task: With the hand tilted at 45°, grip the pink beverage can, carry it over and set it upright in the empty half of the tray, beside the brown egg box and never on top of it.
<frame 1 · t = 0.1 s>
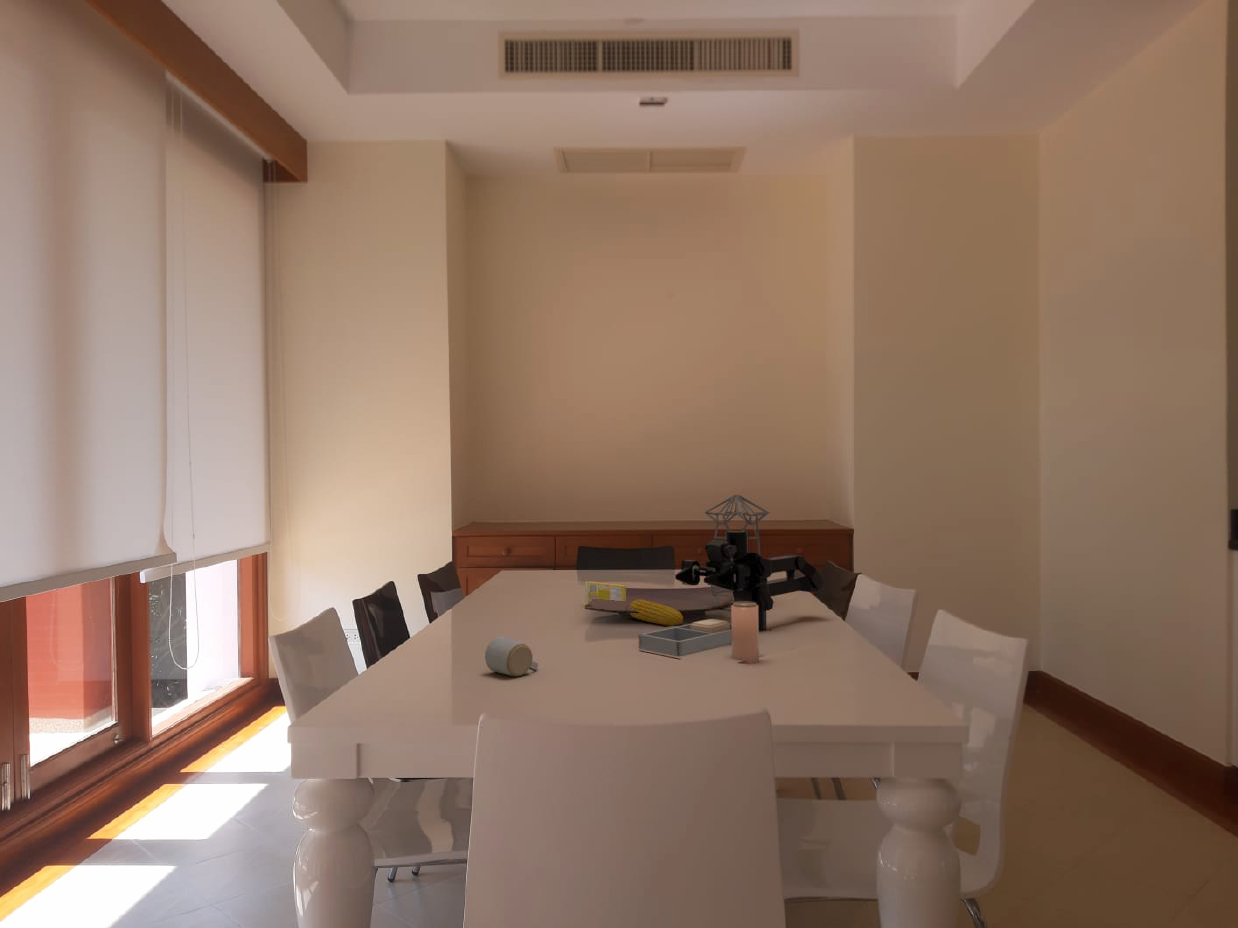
hand: (689, 578, 209), 17 cm above the table, tool horizontal, fingers open, 9 cm apart
food: (656, 624, 242), on the table
geometric lantern: (738, 608, 265), on the table
pink beverage can: (745, 660, 194), on the table
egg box: (710, 639, 213), point 1 cm above the table, touching tray
tray: (694, 646, 209), on the table
candy box: (605, 610, 265), on the table
ceramic mug: (514, 673, 185), on the table
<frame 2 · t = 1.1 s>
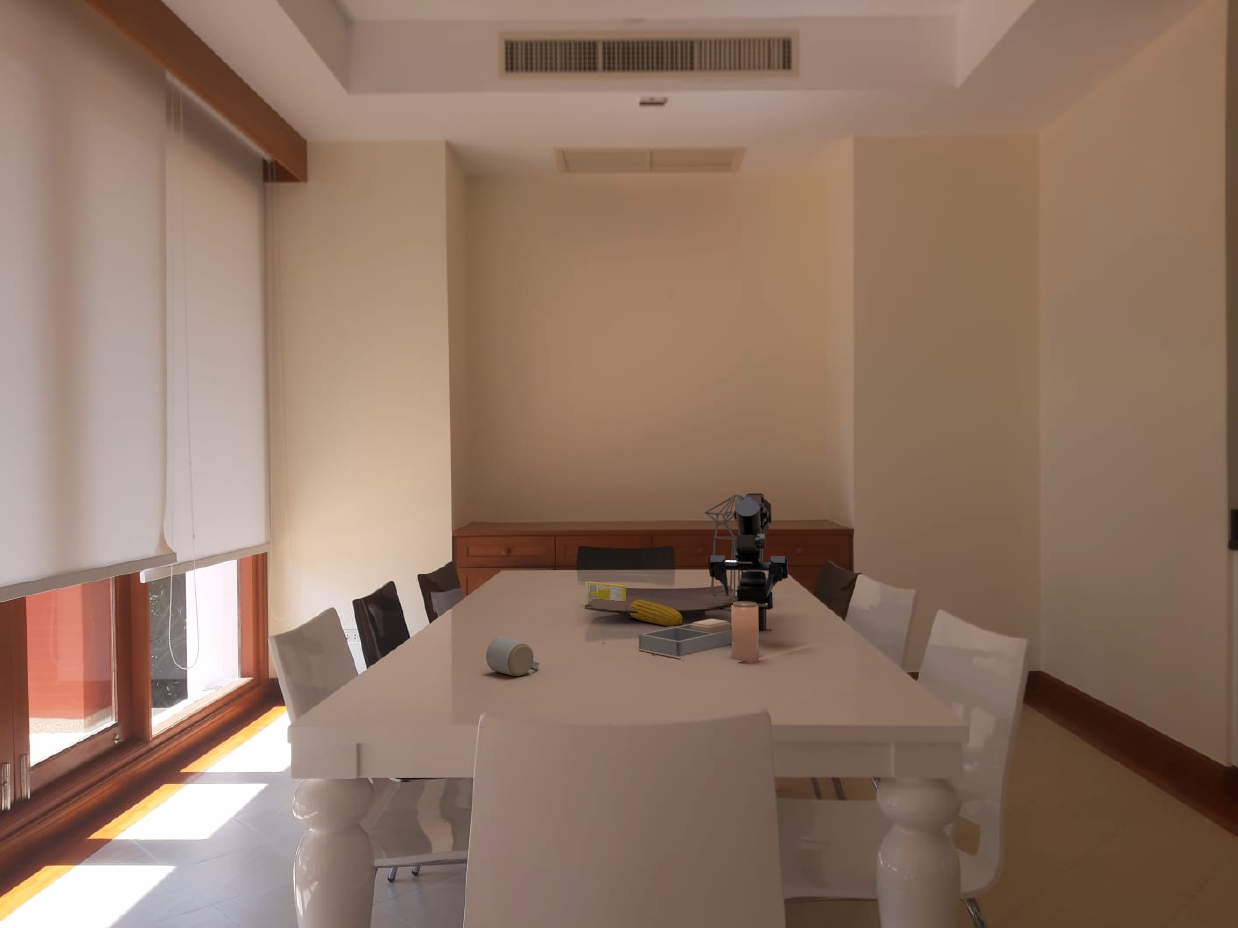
hand: (746, 595, 201), 14 cm above the table, tool tilted 45°, fingers open, 9 cm apart
nothing on the table moved.
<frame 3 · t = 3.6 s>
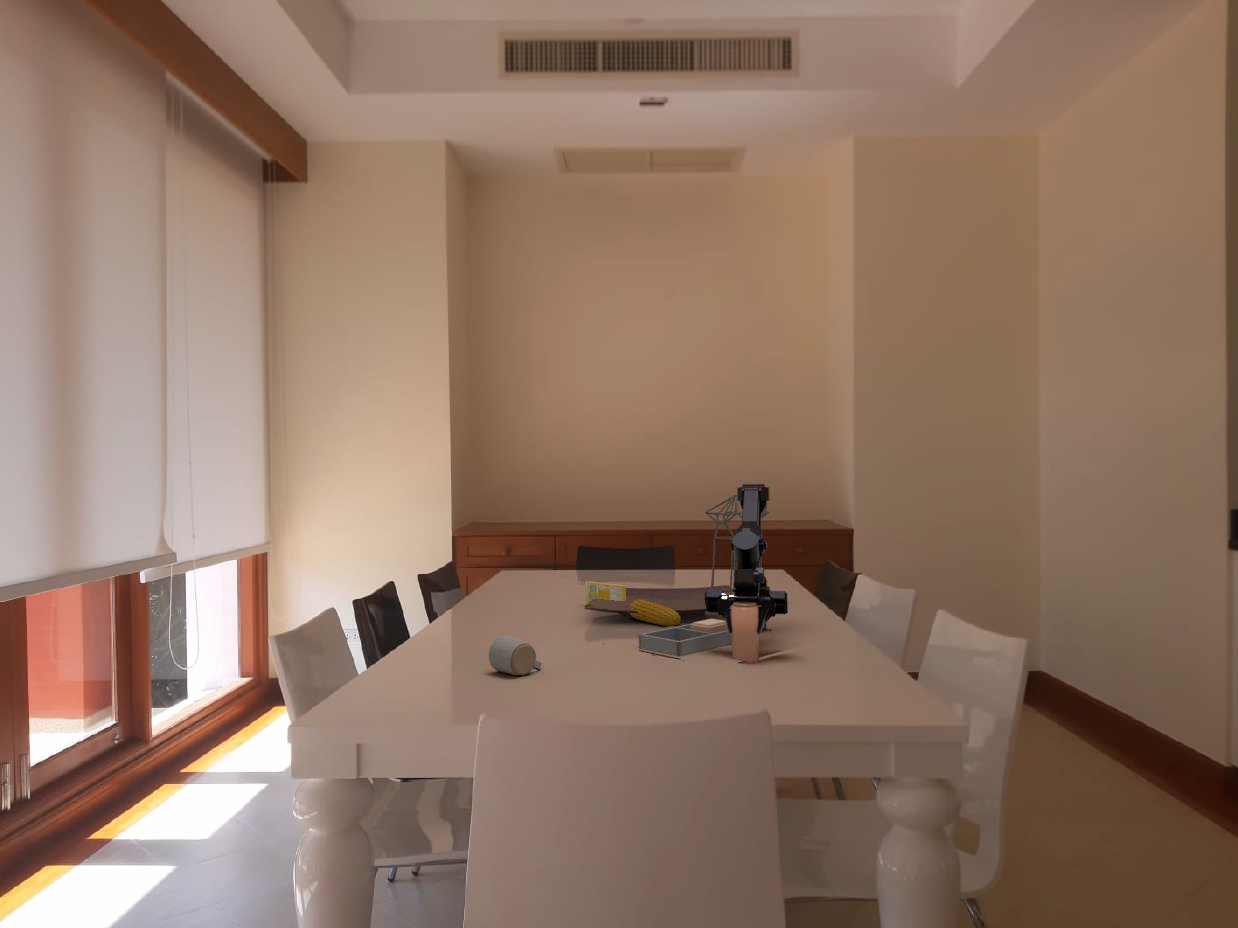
hand: (744, 632, 193), 7 cm above the table, tool tilted 45°, fingers closed on pink beverage can, 6 cm apart
pink beverage can: (745, 660, 194), on the table, touching gripper
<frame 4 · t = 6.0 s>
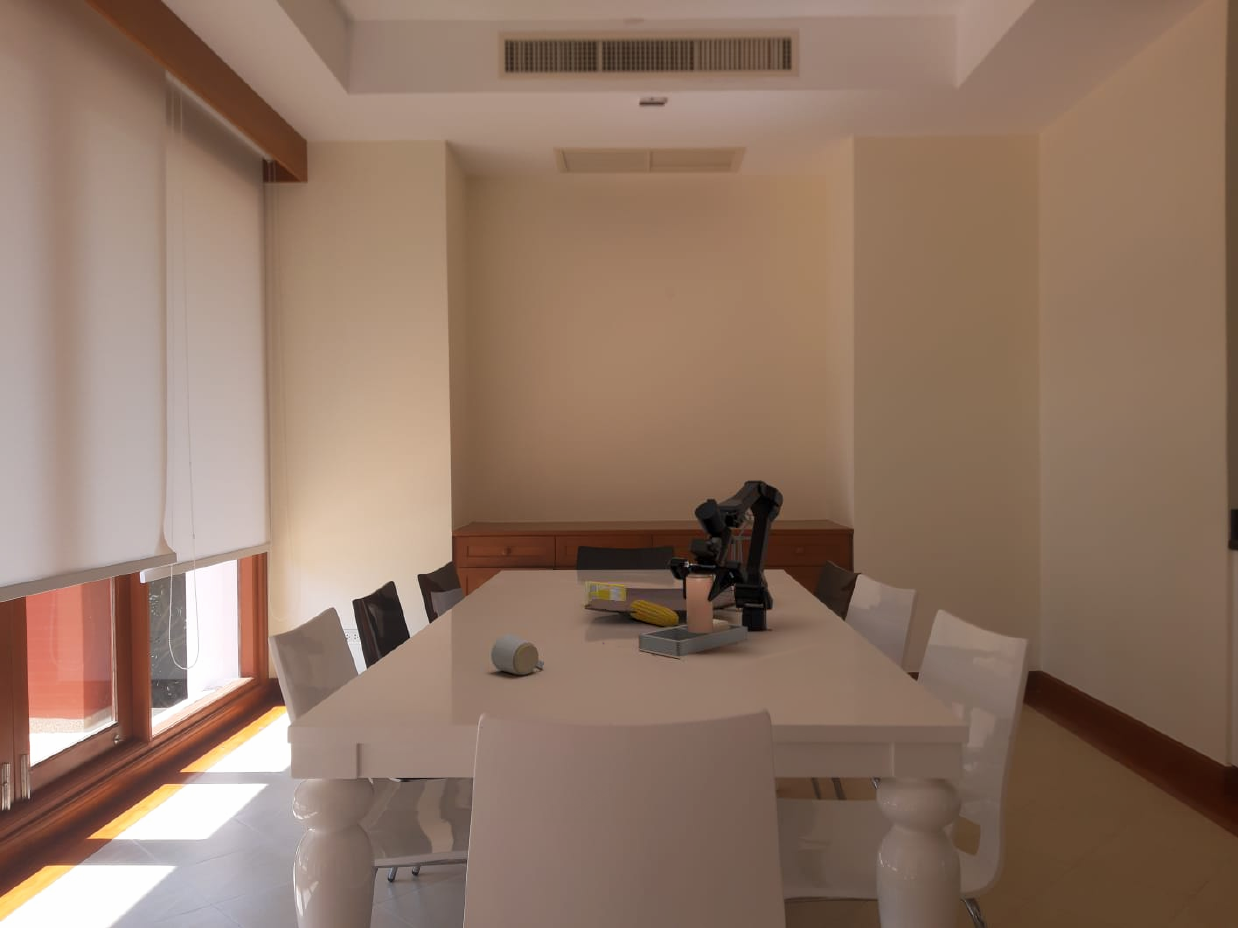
hand: (696, 599, 199), 13 cm above the table, tool tilted 45°, fingers closed on pink beverage can, 6 cm apart
pink beverage can: (699, 630, 200), point 6 cm above the table, touching gripper
when the fingers open (9 cm above the table, at t = 8.2 s): pink beverage can stays where it is, resting on tray.
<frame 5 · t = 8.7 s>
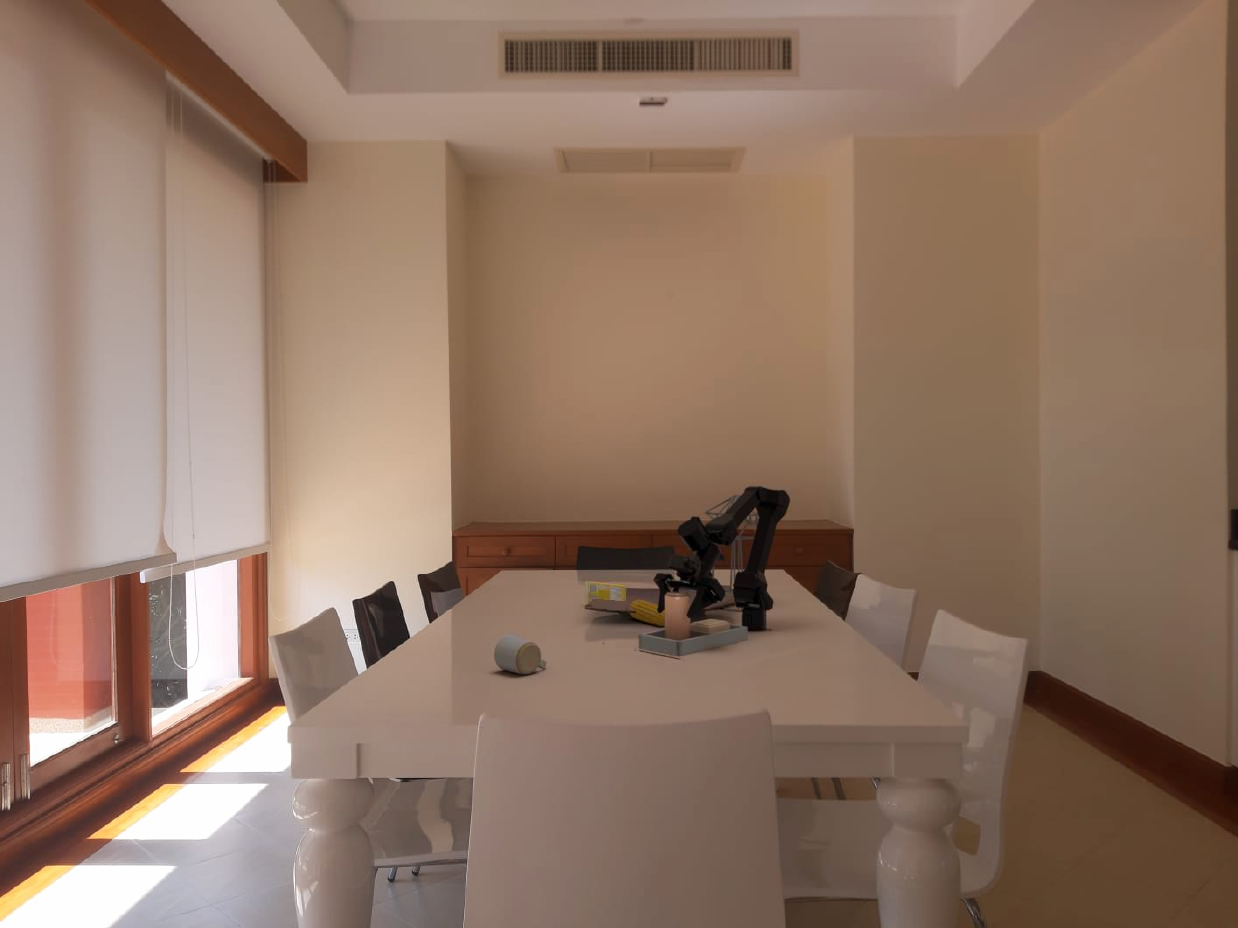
hand: (673, 614, 204), 9 cm above the table, tool tilted 45°, fingers open, 9 cm apart
pink beverage can: (677, 647, 205), point 1 cm above the table, touching tray
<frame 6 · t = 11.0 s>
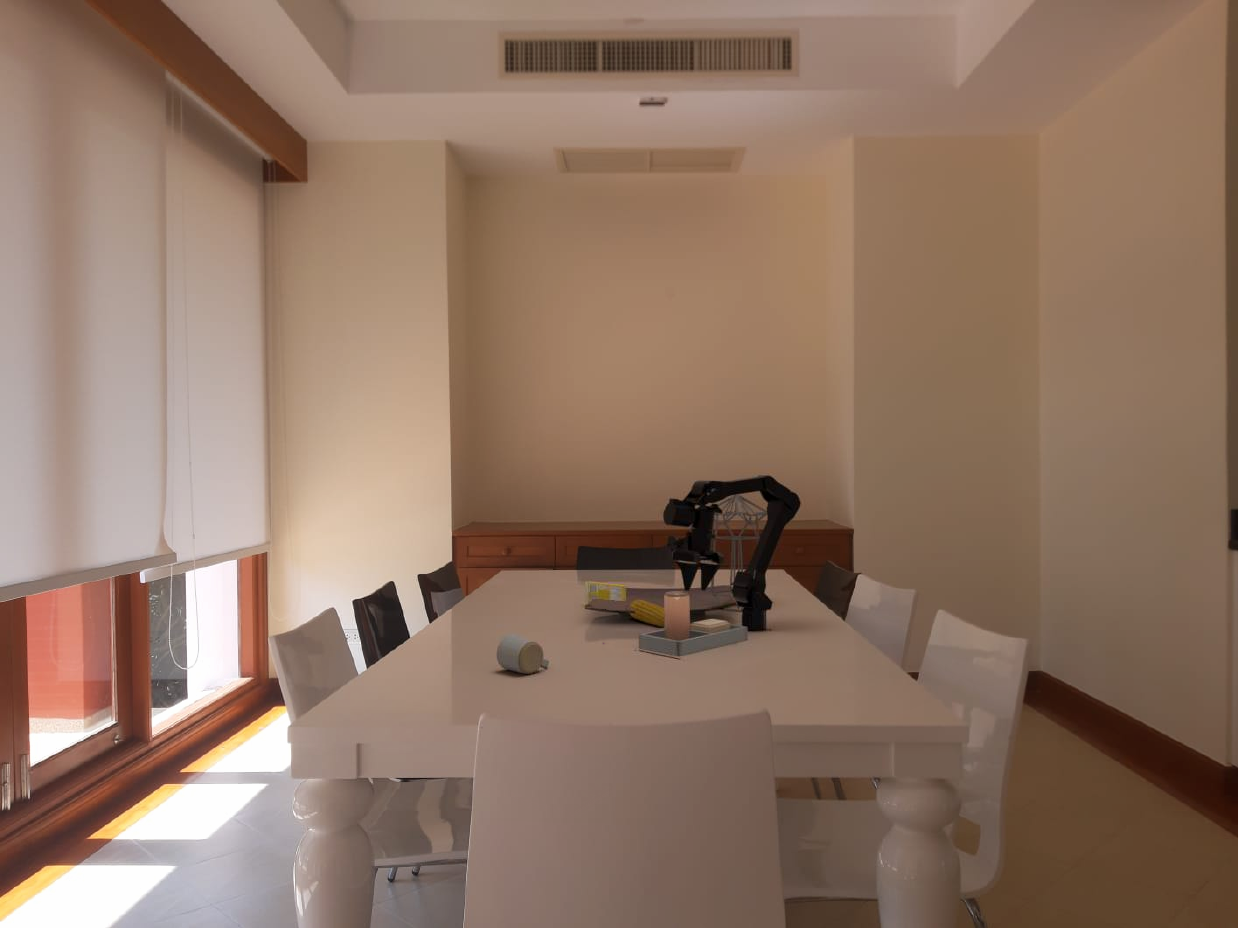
hand: (695, 590, 219), 12 cm above the table, tool pointing down, fingers open, 9 cm apart
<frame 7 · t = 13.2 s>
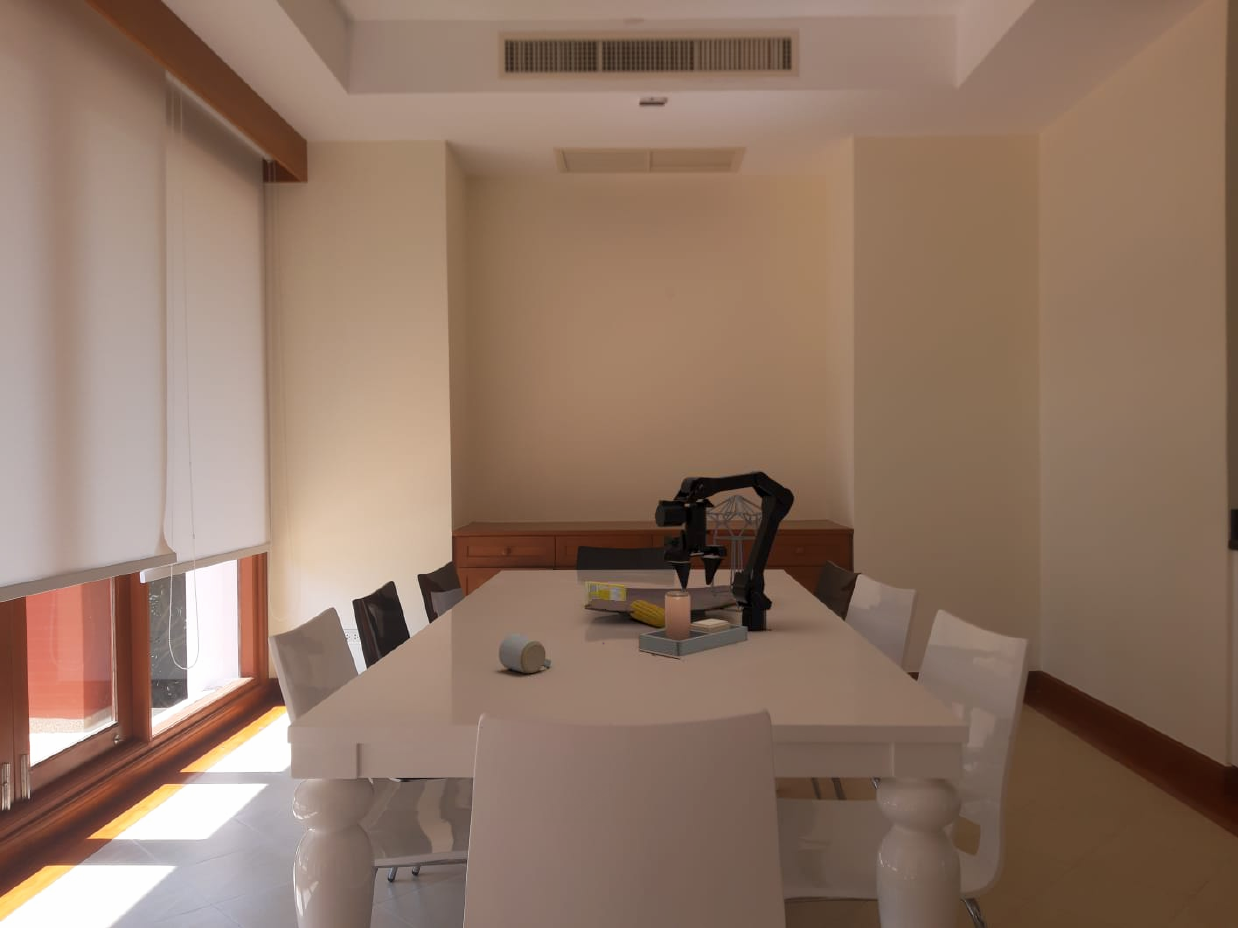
hand: (696, 586, 220), 13 cm above the table, tool pointing down, fingers open, 9 cm apart
at the end: pink beverage can inside the target area on the tray (0.2 cm from its centre), point 0.8 cm above the tray's base; pink beverage can tilted 0°; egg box moved 0.0 cm from its start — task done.
